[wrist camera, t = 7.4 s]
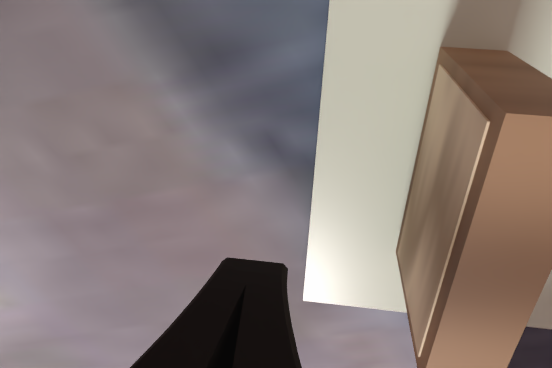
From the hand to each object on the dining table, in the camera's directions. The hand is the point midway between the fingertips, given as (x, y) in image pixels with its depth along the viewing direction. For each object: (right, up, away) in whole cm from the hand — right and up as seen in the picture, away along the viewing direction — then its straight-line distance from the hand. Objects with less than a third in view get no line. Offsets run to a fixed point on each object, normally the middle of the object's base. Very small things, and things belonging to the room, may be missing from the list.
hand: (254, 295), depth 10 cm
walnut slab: (+6, +3, +6) cm, 9 cm away
